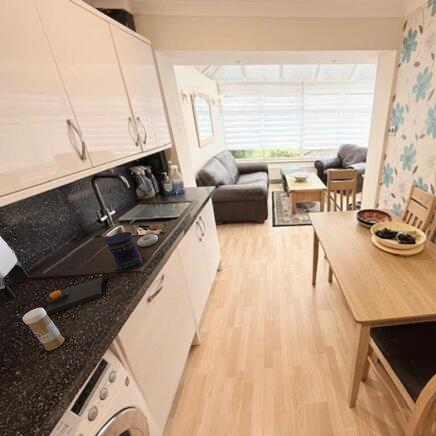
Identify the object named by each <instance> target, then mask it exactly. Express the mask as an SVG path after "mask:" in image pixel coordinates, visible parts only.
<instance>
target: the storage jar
mask: <svg viewBox="0 0 436 436" xmlns="http://www.w3.org/2000/svg"><path fill="white" fill-rule="evenodd" d="M105 242H106V244H107V247H108V249H109V251H110V253H111V254H112V255H113V258H114V261H115V264H116V266H117V267H118V269H119V271H121V272H129V271H133V270H135V269H137V268H138V267H140V266H141V265H142V264H143V263H144V261H143V259H142V255H141V253H140V251H139V250H138V247H137V241H136V240H135V238H134V236H133V234H132V232H130V231H122V232H119V233H115V234H112V235H111V236H109V237H108V238H106V240H105Z"/></svg>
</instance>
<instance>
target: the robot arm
mask: <svg viewBox="0 0 436 436" xmlns="http://www.w3.org/2000/svg"><path fill="white" fill-rule="evenodd" d="M22 265H23V264H22V262H21V261H19V257H18V256H17V254H16V252H15V250H14V249H12V248H11V246H9V244H8V243H7V242H6V241H5V240H4V238H2V236H0V304H3V303H6V302H10V301H13V300H15V299H16V298H17V297H16V295H15V293H14V292H13V291H12V289H11V288H10V286H9V285H5V280H4V278H5V277H6V276H7V275H8V277H9V278H10V279H11V281H12V282H13V283H18V282H21V281H25V280H28V279H30V276H29V274H28V273H27V272H26V270H25V269H24V267H23V266H22Z"/></svg>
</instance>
